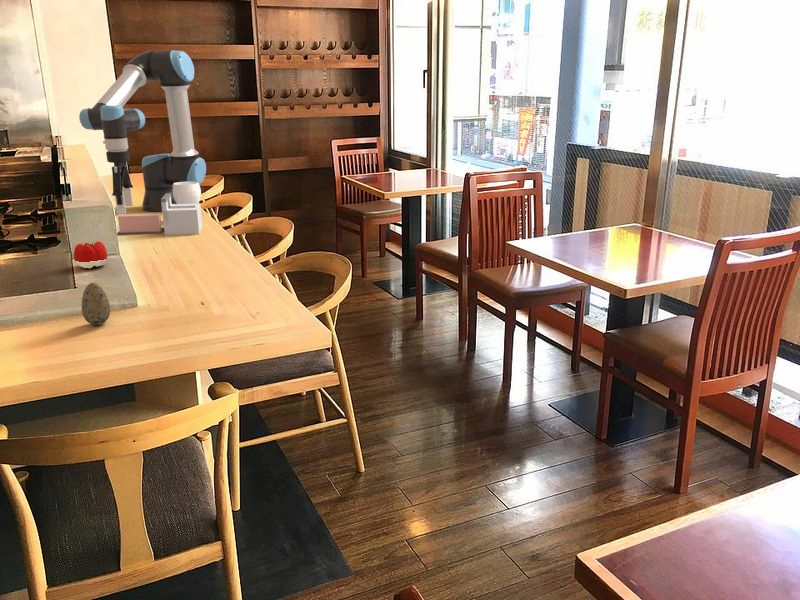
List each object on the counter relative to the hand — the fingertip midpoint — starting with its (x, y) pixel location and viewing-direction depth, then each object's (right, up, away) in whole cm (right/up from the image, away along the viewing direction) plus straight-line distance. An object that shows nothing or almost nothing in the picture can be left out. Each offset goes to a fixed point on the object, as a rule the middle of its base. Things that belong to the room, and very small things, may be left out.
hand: (125, 209), depth 246 cm
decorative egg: (+30, -39, -90) cm, 103 cm away
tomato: (+8, -23, -43) cm, 49 cm away
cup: (+16, -2, +23) cm, 28 cm away
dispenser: (+19, -7, +6) cm, 22 cm away
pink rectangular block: (+5, -7, +3) cm, 9 cm away
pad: (+5, -8, +4) cm, 10 cm away
